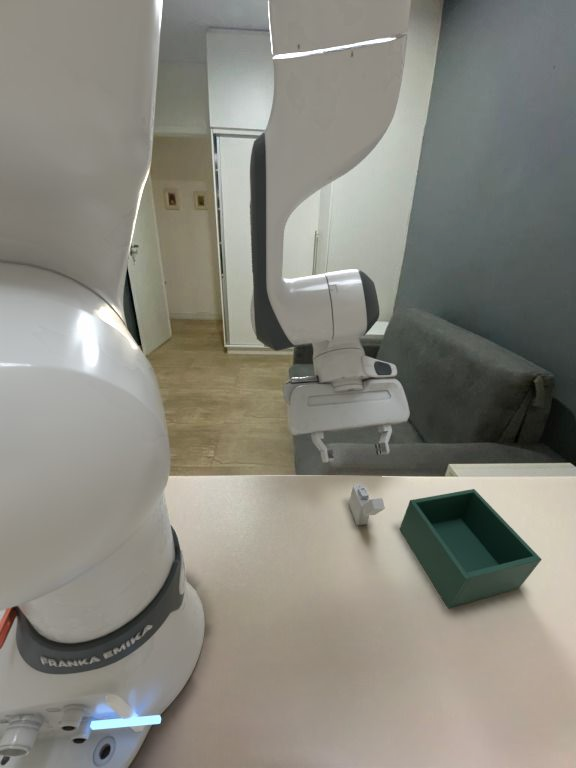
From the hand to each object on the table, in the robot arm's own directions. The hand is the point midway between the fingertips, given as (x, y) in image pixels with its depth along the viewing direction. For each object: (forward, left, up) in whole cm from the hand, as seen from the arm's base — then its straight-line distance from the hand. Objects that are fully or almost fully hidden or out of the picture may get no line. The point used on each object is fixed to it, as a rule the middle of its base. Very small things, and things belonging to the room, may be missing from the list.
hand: (356, 458), depth 48 cm
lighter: (0, -5, -9) cm, 10 cm away
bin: (+11, -13, -9) cm, 19 cm away
